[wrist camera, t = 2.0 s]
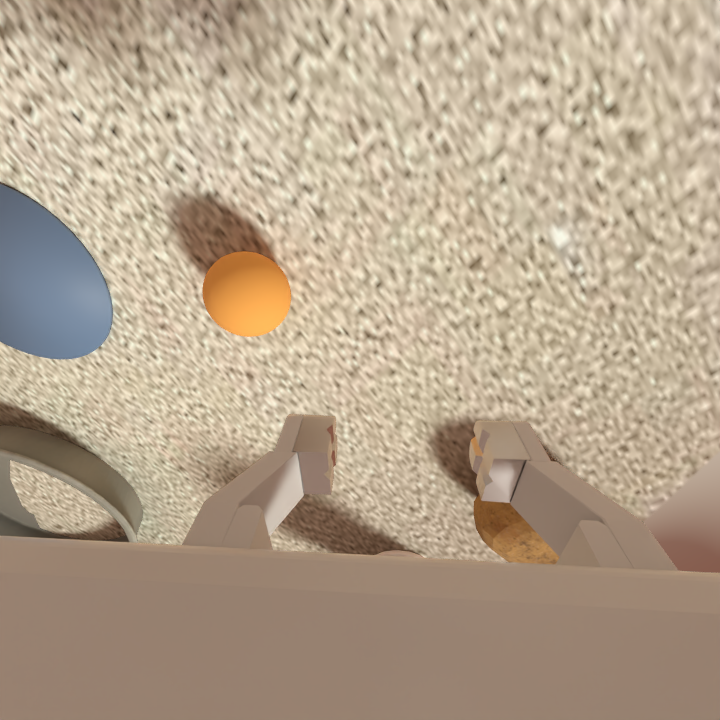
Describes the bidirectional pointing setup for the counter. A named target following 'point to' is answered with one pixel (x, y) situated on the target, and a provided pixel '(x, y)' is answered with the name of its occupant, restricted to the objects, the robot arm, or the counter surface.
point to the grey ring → (71, 466)
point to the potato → (510, 534)
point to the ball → (246, 293)
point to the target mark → (48, 284)
